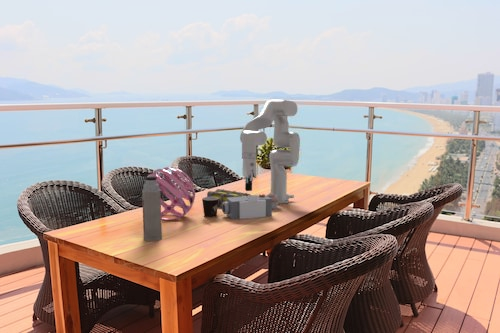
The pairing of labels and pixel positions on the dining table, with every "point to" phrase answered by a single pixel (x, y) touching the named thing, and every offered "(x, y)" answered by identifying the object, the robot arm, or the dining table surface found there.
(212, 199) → the coffee mug
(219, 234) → the dining table surface
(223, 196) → the cage light
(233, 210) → the block
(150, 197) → the thermos bottle
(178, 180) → the spiral basket
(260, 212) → the side door
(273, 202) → the cupcake
